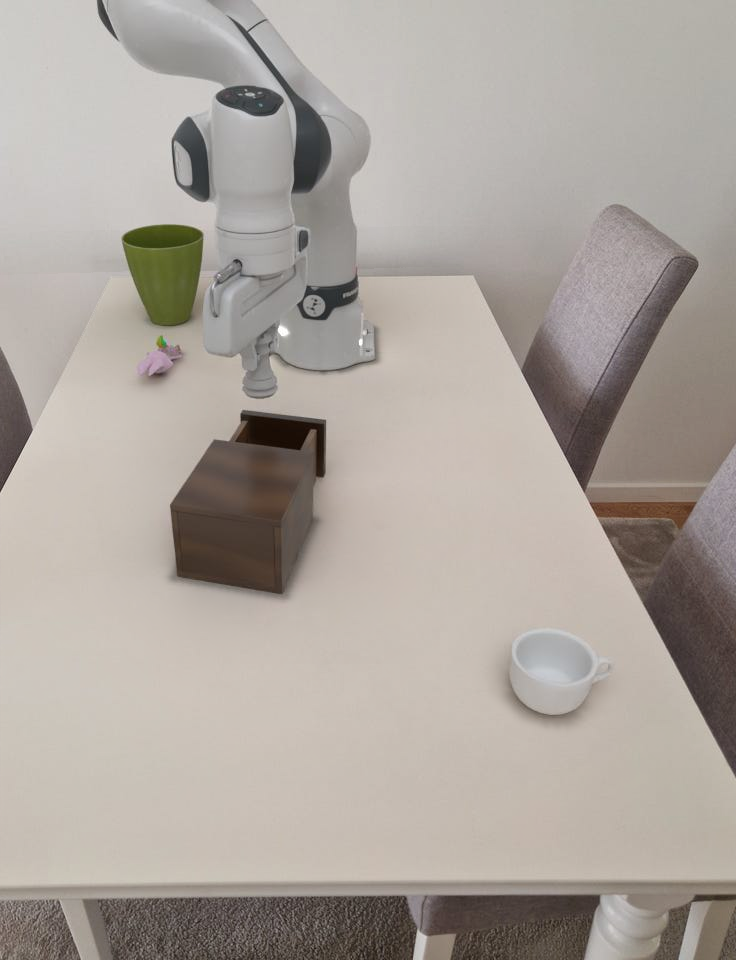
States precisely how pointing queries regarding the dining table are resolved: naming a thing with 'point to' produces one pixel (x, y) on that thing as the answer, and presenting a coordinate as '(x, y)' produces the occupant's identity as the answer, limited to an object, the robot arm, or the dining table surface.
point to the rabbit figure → (159, 358)
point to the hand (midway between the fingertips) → (259, 361)
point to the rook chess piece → (261, 372)
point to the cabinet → (243, 515)
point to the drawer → (285, 435)
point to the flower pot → (165, 269)
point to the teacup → (554, 670)
